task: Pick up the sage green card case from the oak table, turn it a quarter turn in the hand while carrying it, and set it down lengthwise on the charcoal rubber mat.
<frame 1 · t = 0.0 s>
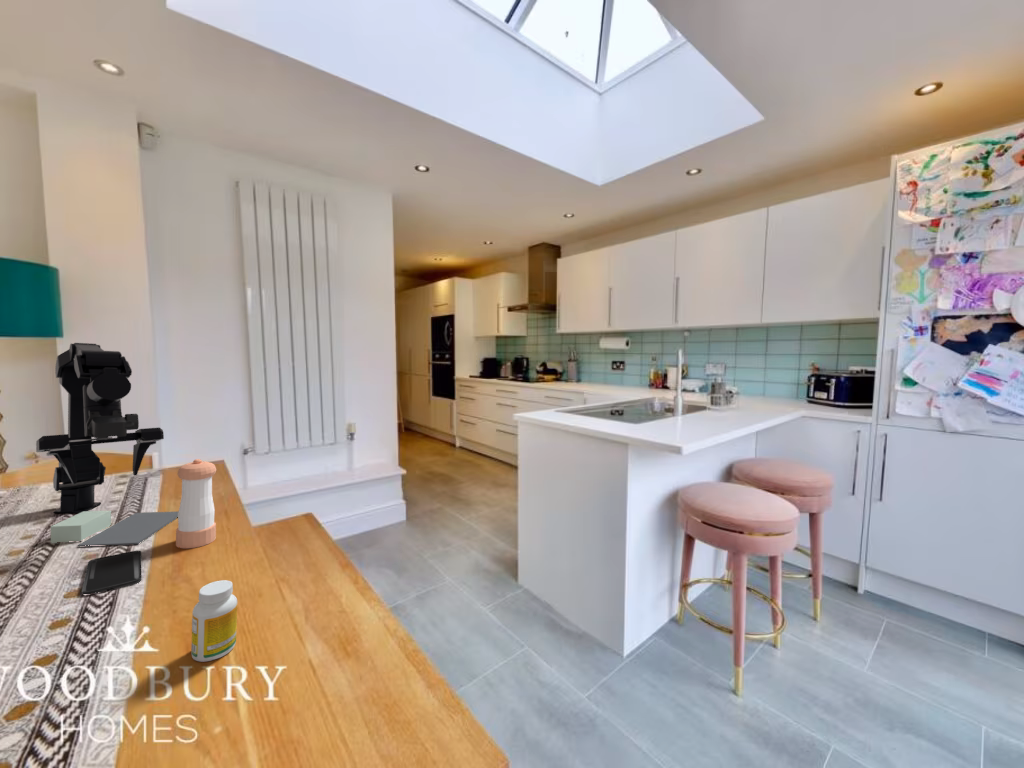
hand: (106, 479, 86), 15 cm above the table, tool pointing down, fingers open, 9 cm apart
phone: (113, 575, 78), on the table
supplement bottle: (214, 651, 60), on the table
pepper shaker: (196, 542, 93), on the table
rubber mat: (137, 528, 98), on the table
card case: (82, 535, 93), on the table
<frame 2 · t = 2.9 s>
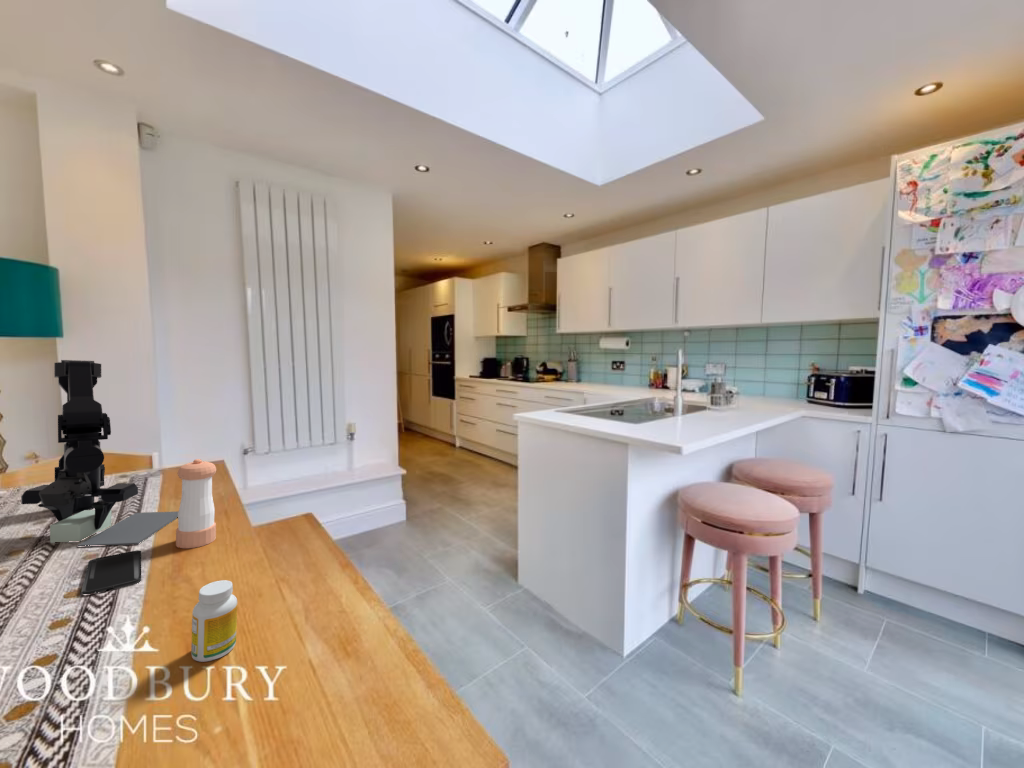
hand: (82, 529, 93), 1 cm above the table, tool pointing down, fingers closed on card case, 6 cm apart
card case: (82, 533, 93), on the table, touching gripper
everything else where it was.
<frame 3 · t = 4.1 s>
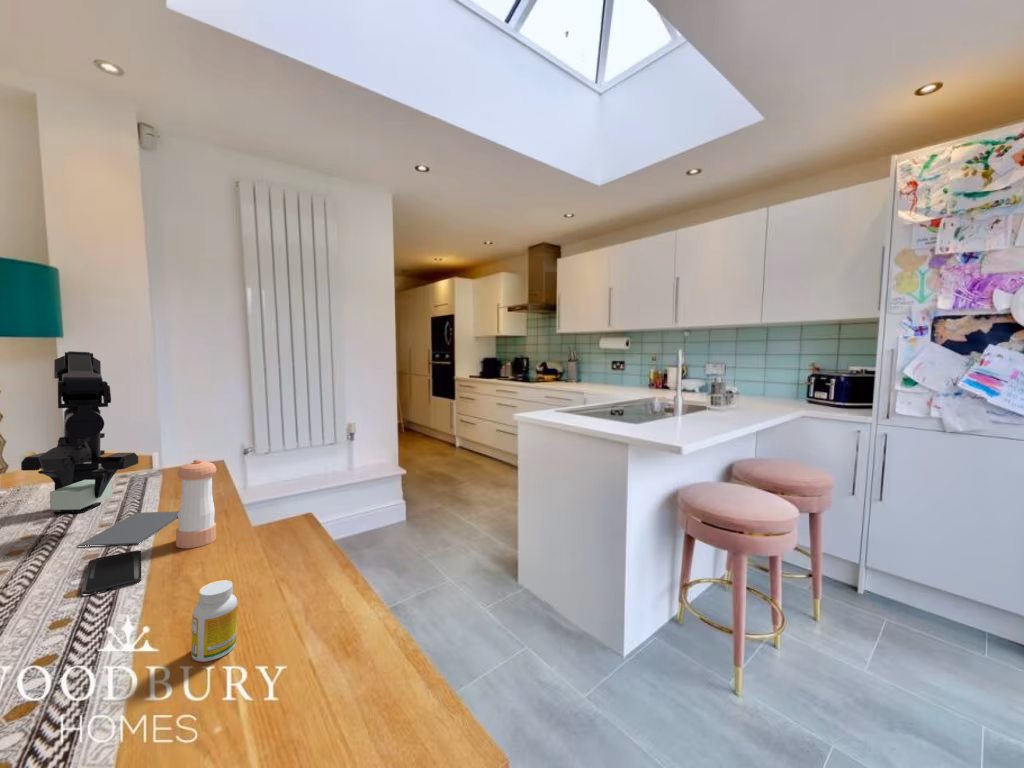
hand: (82, 497, 93), 9 cm above the table, tool pointing down, fingers closed on card case, 6 cm apart
card case: (82, 502, 93), point 7 cm above the table, touching gripper
everything else where it was.
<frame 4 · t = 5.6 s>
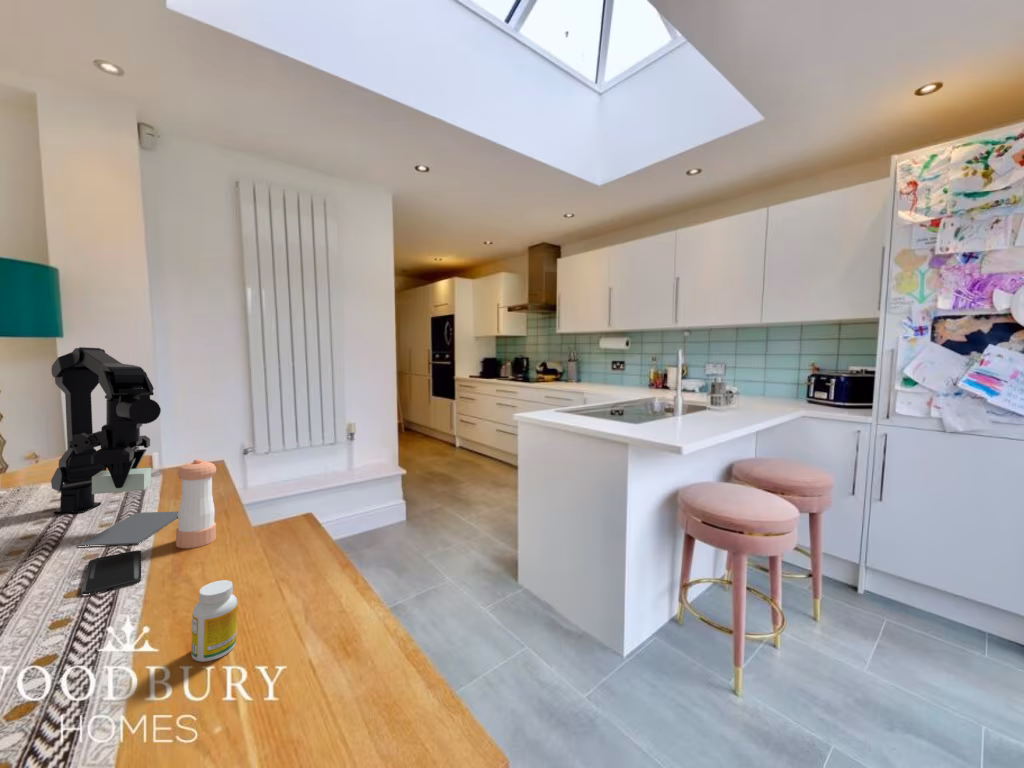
hand: (123, 484, 96), 11 cm above the table, tool pointing down, fingers closed on card case, 6 cm apart
card case: (122, 488, 96), point 10 cm above the table, touching gripper
everything else where it was.
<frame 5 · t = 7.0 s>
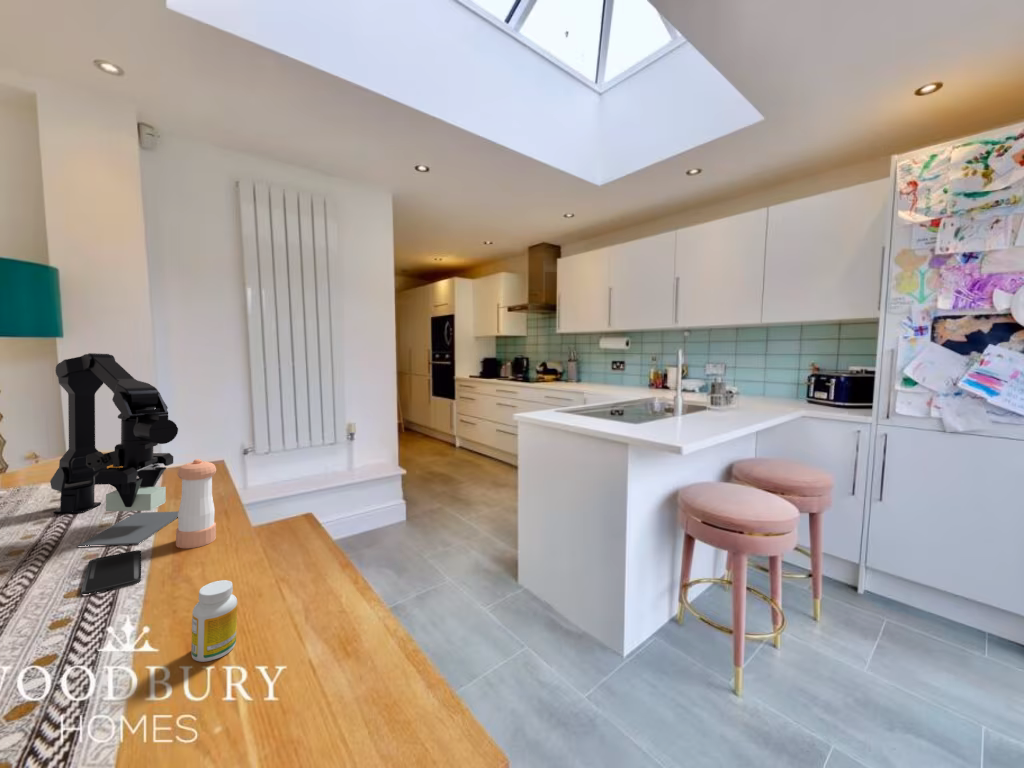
hand: (136, 502, 97), 6 cm above the table, tool pointing down, fingers closed on card case, 6 cm apart
card case: (136, 506, 97), point 5 cm above the table, touching gripper
everything else where it was.
when the fingers open (3 cm above the table, at t = 8.4 s): card case drops 1 cm, resting on rubber mat.
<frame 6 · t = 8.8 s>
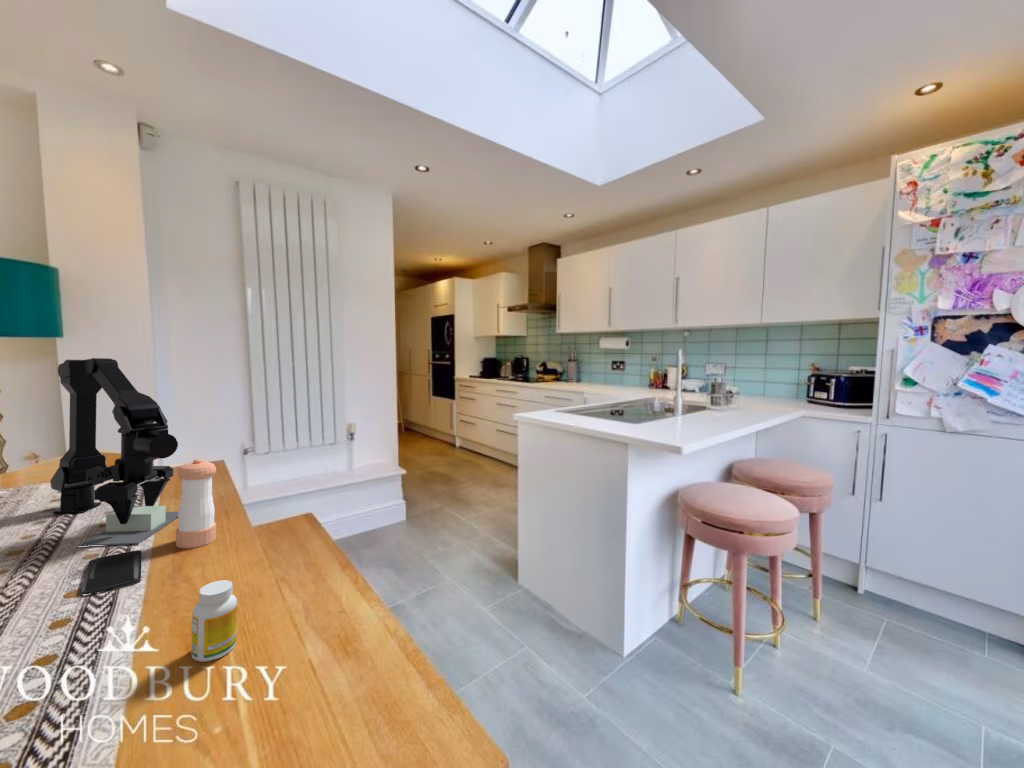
hand: (136, 516, 98), 3 cm above the table, tool pointing down, fingers open, 9 cm apart
card case: (136, 526, 98), resting on rubber mat
everything else where it was.
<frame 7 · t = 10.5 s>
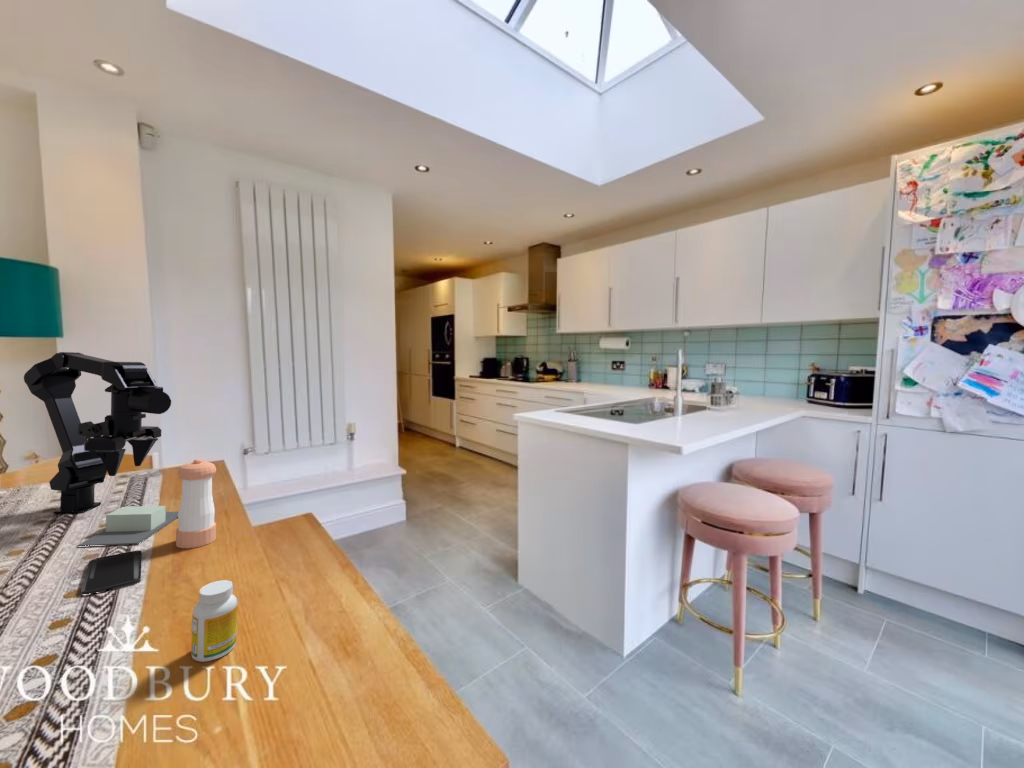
hand: (125, 470, 104), 12 cm above the table, tool pointing down, fingers open, 9 cm apart
nothing on the table moved.
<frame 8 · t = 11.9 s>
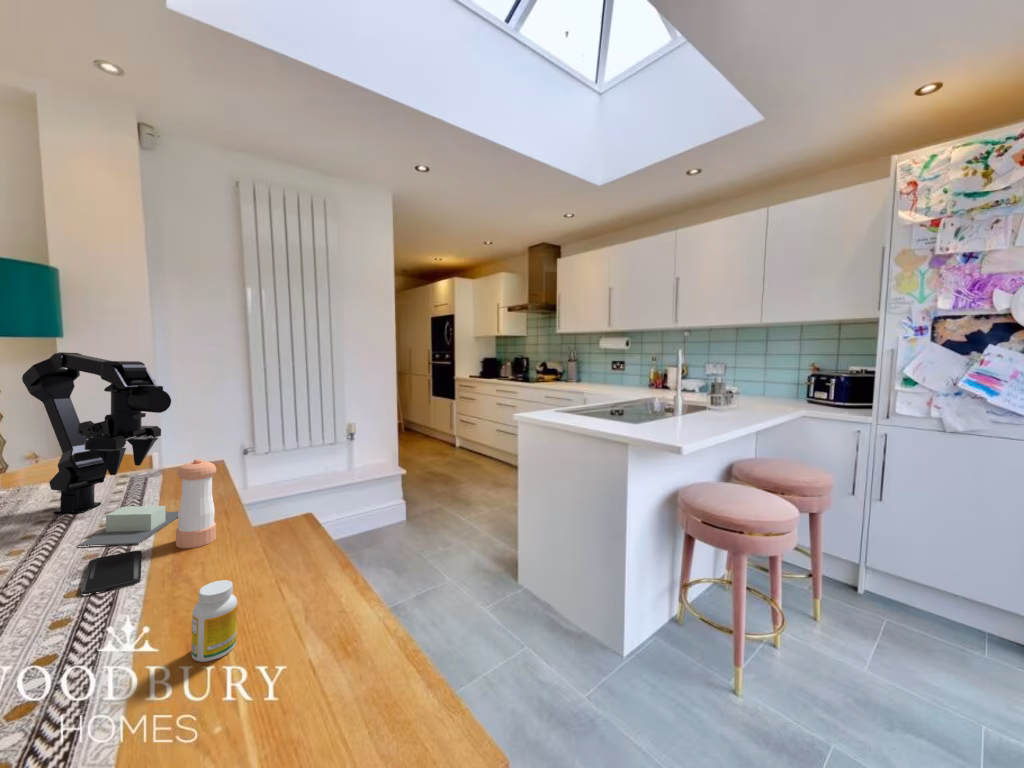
hand: (126, 470, 104), 12 cm above the table, tool pointing down, fingers open, 9 cm apart
nothing on the table moved.
at the end: card case 0.1 cm off-centre on the rubber mat, point 0.5 cm above the rubber mat's base; card case touching rubber mat; card case tilted 0° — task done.
